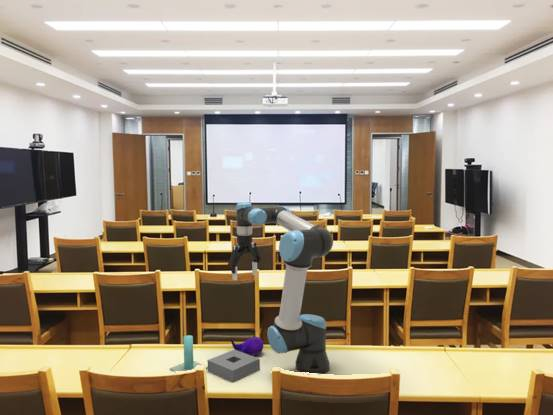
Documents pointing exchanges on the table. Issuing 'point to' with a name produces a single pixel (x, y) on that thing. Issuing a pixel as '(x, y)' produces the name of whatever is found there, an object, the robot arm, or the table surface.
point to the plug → (188, 352)
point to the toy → (249, 346)
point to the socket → (233, 365)
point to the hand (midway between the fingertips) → (245, 277)
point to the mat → (181, 367)
